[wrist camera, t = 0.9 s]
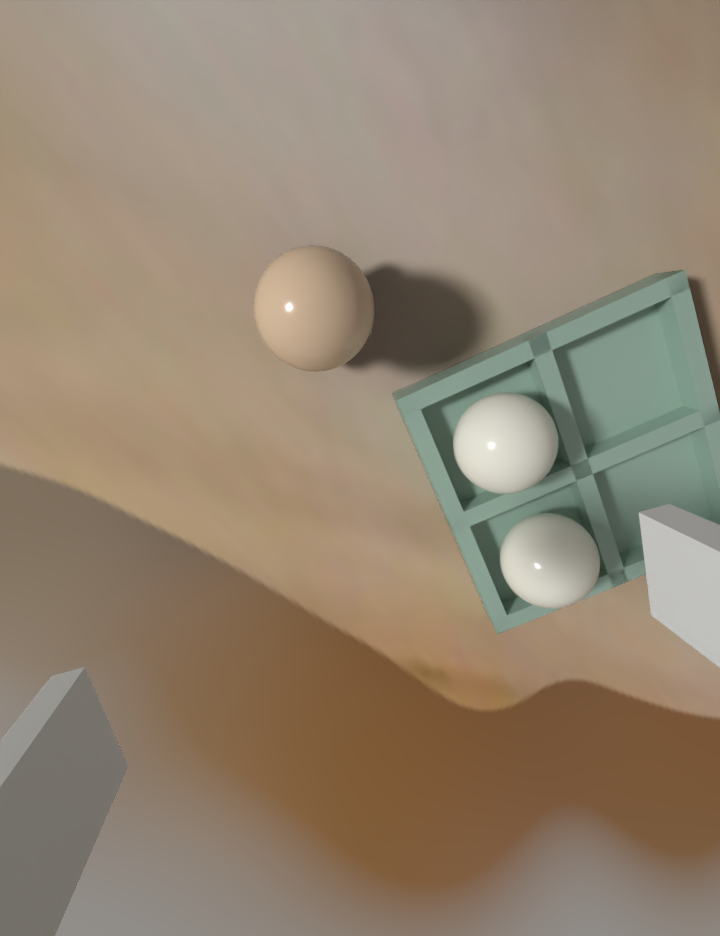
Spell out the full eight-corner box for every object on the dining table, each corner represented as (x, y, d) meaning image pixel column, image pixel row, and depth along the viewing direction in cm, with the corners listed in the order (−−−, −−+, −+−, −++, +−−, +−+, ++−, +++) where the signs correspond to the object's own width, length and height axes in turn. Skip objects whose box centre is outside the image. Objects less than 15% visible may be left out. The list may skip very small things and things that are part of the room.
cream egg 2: (558, 485, 31) (603, 519, 26) (584, 558, 33) (631, 604, 27) (476, 521, 32) (503, 561, 26) (505, 591, 33) (536, 642, 28)
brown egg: (343, 233, 25) (344, 211, 20) (387, 338, 26) (399, 344, 21) (243, 282, 25) (219, 273, 20) (292, 382, 27) (281, 399, 21)
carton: (656, 273, 29) (685, 269, 26) (719, 516, 33) (748, 532, 31) (391, 393, 30) (396, 400, 28) (486, 612, 35) (497, 634, 32)
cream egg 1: (518, 370, 29) (557, 382, 24) (547, 454, 30) (590, 482, 25) (430, 409, 29) (449, 429, 24) (463, 490, 31) (488, 525, 26)
